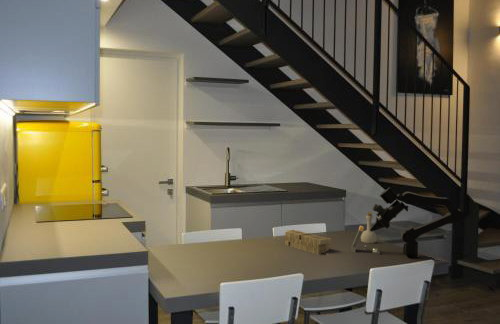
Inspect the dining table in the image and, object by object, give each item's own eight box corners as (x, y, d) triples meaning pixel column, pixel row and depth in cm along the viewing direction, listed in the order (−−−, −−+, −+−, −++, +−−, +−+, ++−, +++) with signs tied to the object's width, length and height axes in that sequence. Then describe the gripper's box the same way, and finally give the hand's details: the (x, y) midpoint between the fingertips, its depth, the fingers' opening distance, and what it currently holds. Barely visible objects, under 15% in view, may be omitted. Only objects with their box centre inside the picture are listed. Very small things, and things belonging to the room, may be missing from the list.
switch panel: (382, 252, 273) (382, 244, 273) (384, 257, 260) (384, 250, 260) (343, 249, 277) (344, 242, 276) (344, 255, 264) (344, 247, 264)
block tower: (283, 246, 286) (319, 255, 263) (283, 230, 286) (320, 238, 262) (294, 244, 291) (331, 253, 267) (294, 229, 291) (331, 237, 267)
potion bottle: (375, 242, 297) (376, 211, 296) (377, 245, 288) (378, 213, 287) (359, 241, 298) (360, 210, 297) (361, 245, 289) (362, 213, 288)
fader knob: (366, 249, 274) (366, 245, 274) (366, 250, 272) (366, 246, 271) (364, 249, 274) (364, 245, 274) (364, 249, 272) (364, 245, 272)
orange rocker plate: (353, 249, 272) (363, 226, 270) (354, 251, 267) (364, 228, 265) (350, 248, 272) (360, 225, 270) (350, 250, 267) (360, 226, 266)
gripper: (381, 196, 274) (358, 216, 277) (383, 201, 256) (360, 222, 259) (395, 212, 274) (373, 231, 276) (399, 217, 255) (375, 238, 258)
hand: (370, 230), depth 267 cm, fingers closed
